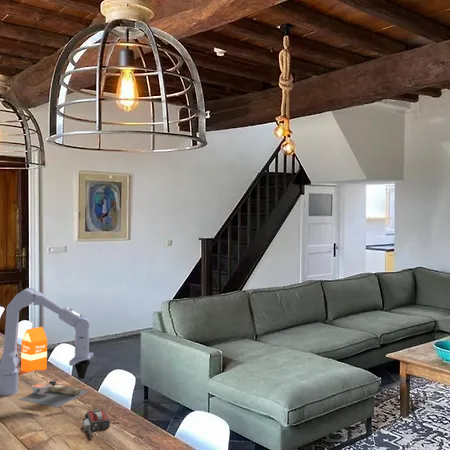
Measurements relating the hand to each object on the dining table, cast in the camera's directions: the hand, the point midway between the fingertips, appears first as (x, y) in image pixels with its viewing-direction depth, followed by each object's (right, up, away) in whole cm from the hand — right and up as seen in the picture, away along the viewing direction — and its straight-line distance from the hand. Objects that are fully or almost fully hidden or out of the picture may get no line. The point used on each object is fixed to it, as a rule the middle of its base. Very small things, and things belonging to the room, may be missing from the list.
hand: (81, 378), depth 212 cm
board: (-8, -5, -8) cm, 13 cm away
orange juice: (-31, -5, +29) cm, 43 cm away
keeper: (-14, -4, -7) cm, 16 cm away
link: (-6, -4, -5) cm, 9 cm away
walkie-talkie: (+15, -7, -35) cm, 39 cm away
